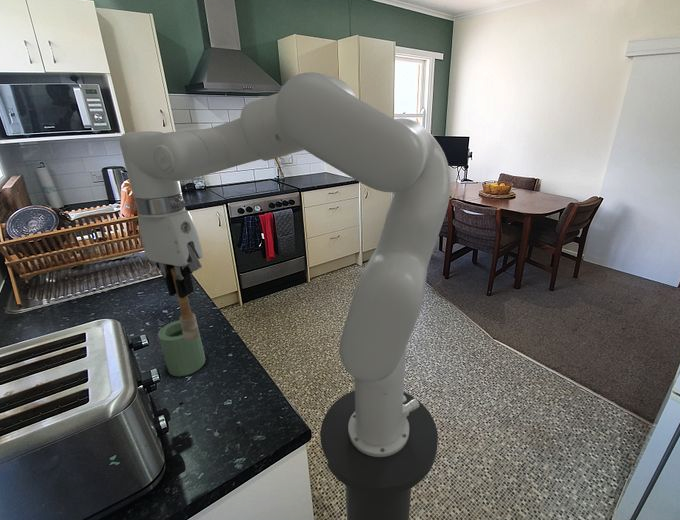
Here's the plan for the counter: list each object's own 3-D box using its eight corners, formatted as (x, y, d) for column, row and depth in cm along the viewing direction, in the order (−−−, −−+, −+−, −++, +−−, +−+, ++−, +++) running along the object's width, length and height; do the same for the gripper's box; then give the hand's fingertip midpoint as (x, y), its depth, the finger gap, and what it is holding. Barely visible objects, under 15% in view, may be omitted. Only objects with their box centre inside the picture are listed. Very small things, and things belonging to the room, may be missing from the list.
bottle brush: (197, 330, 75) (182, 264, 69) (201, 337, 73) (185, 269, 67) (182, 335, 74) (166, 267, 67) (185, 342, 72) (168, 273, 65)
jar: (201, 349, 96) (193, 315, 92) (208, 367, 89) (200, 331, 85) (165, 361, 92) (155, 326, 87) (170, 381, 85) (160, 345, 81)
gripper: (211, 203, 63) (226, 291, 70) (146, 196, 68) (167, 279, 75) (178, 214, 56) (199, 310, 64) (109, 205, 61) (136, 295, 69)
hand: (181, 293), depth 69 cm, fingers closed on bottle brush
